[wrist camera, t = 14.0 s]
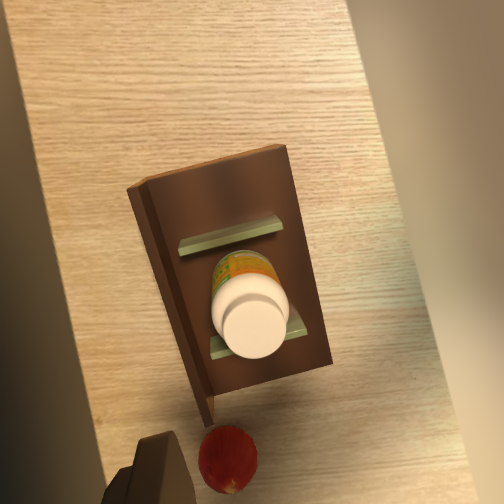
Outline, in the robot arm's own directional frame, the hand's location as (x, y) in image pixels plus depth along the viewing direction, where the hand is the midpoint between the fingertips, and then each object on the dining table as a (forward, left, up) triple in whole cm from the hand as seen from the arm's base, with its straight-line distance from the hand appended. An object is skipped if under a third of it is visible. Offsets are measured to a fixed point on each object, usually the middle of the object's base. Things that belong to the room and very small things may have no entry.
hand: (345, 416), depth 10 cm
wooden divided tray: (+2, +5, -30) cm, 31 cm away
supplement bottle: (+2, +5, -25) cm, 26 cm away
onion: (+8, +23, -30) cm, 39 cm away
